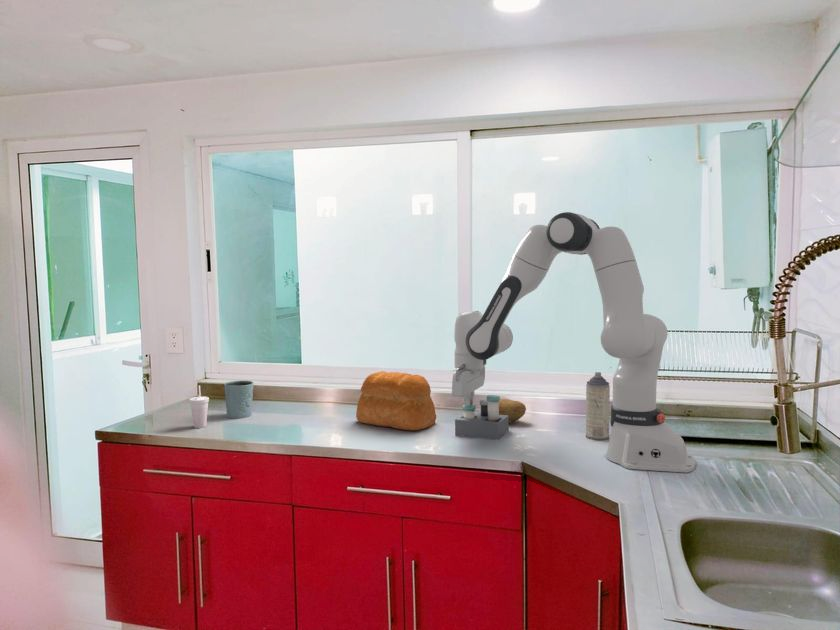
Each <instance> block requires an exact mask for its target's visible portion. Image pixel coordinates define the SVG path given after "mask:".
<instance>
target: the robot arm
mask: <svg viewBox="0 0 840 630" xmlns="http://www.w3.org/2000/svg"><path fill="white" fill-rule="evenodd" d="M561 253H566V254H571V255H578V256H579V255H581V256H582V255H588V256H589V258H590V261H591V264H592V266H593V270H594V274H595V278H596V281H597V285H598V289H599V293H600V295H601V296H600V297H601V300H602V312H603V315H602V317H603V327H602V331H601V335H600V343H601V347H602V348H603V350H604V351H605V353H606V354H608V355H609V356H611V357H613V358H616V359H618V360H619V361H618V363H617V368H616V370H615V373H614V374H613V378H612V404H611V407H610V409H609V424H610V426H611V427H610V434H609V443H608V446H607V449H606V452H605V457H606V459H607V460H609V461H610V462H613V463H615V464H619V465H621V466H622V467H623V468H625V469H628V470H642V471H658V472H672V473H690V472H693V471H694V470H695V468H696V466H697V464H696V459H695V457H693V455H691V454H689V453H687V451H688V450H687V446H686V443H685V441H684V439H683V438H682V436H681V435H680V434H678V433H677V432H676V431H674V430H673V429H672V428H671V427H669V426H668V425H667V424H666V423H665V421H666V416H665V413H664V410H663V409H659V408H657V383H658V381H657V380H658V375H659V370H660V366H661V365H660V364H661V360H662V356H663V349H664V345H665V343H666V341H667V339H668V328H667V325H666V324H665V322H664V321H663V320H662V319H660V318H659V317H657V316H655V315H652V314H649V313H644V307H643V306H644V305H643V297H644V291H645V287H644V284H643V279H642V276H641V273H640V269H639V267H638V262H637V260H636V256H635V254H634V250H633V248H632V246H631V243H630V242H629V240H628V238H627V235H626V234H625V232H624V231H623V230H622V229H621V228H620V227H617V226H606V227H605V226H604V227H601V228H600V226H599V225H598V223H597V222H596V221H595V220H593V219H591V218H588V217H587V216H585V215H583V214H580V213H575V212H571V211H568V212H567V211H564V212H561V213H558V214H555V215H554V216H553V217H552V218H551V219H550V220H549V222H548V224H547V225H545V224H536V225H533V226H531V227H530V228H529V229H528V230H527V232H526V233H525V234H524V236H523V237H522V239H521V241H520V243H519V244H518V246H517V248H516V250H515V252H514V254H513V256H512V258H511V260H510V262H509V265H508V267H507V270H506V272H505V273H504V276H503V278H502V280H501V282H500V284H499V285H498V287H497V289H496V291H495V292H494V294H493V296H492V298H491V300H490V301H489V304H488V306H487V307H486V309H485V311H484V313H482V312H481V311H479V310H471V311H465V312H460V313H459V314H458V315H457V316H456V318H455V322H454V323H455V324H454V335H453V336H454V337H453V338H454V343H455V349H454V368H455V369H456V370H455V371H454V372H453V375H452V378H451V379H452V382H451V394H452V396H453V397H454V398H463V401H464V404H463V405H465V406H468V407H469V406H470V405H472V404H473V405H474V397H475V391H477V390H478V389H480V388H482V387H483V386H484V384H485V378H486V365H487V360H489V359H490V358H492V357H493V356H496V355H499V354H501V353H504V352H505V351H507V350H509V348H510V347H511V346H512V344H513V340H514V336H513V332H512V329H511V328H510V327H509V326H508V325H507V324H506V323H505V322H506V320H507V319H508V316H509V314H510V312H511V311H512V309H513V307H514V306H515V305H516V304H517V302H518V301H520V300H521V299H523V298H524V297H525V296H526V295H529V294H530V293H532V292H533V291H535V290H536V289H537V288H538V287H540V285H541V283H542V282H543V280H544V279H545V278H546V276H547V274H548V273H549V269H550V268H551V265H552V264H553V261H554V260H555V258H556V257H557V255H559V254H561Z"/></svg>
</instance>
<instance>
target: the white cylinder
mask: <svg viewBox="0 0 840 630" xmlns="http://www.w3.org/2000/svg"><path fill="white" fill-rule="evenodd" d="M462 411H463V414H464V418H465V419H474V412H475V411H476V404H474V403H473V404H472V405H470V406H469V407H468V406H465V405H464V404H463V405H462Z"/></svg>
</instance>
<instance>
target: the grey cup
mask: <svg viewBox="0 0 840 630" xmlns="http://www.w3.org/2000/svg"><path fill="white" fill-rule="evenodd" d="M223 386H224V395H225V396H224V397H225V406H226V407H225V408H226V418H228V419H233V420H234V419H235V420H236V419H237V420H238V419H245V418H249V417H251V416H252V414H253V413H252V412H253V398H254V394H253V392H254V381H251V380H233V381H232V380H231V381H227V382H224V384H223Z"/></svg>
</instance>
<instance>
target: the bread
mask: <svg viewBox="0 0 840 630" xmlns="http://www.w3.org/2000/svg"><path fill="white" fill-rule="evenodd" d="M431 390H432V389H431V386H430V384H429V382H428V381H427V379H426V378H425V376H423V375H420V374H411V373H408V372H407V373H406V372H398V371H393V372H392V371H391V372H387V371H385V370H384V371H382V370H381V371H378V372H374V373H371V374H369V375H368V376H367V377H366V378H365V379H364V381H363V382H362V385H361V386H360V393H361V395H360V396H359V399H358V401H357V402H358V403H357V407H356V412H355V415H356V416H355V417H356V420H357V421H358V422H360V423H362V424H368V425H373V426H374V425H375V426H377V427H385V428H388V427H389V428H393V429H396V430H404V431H411V432H413V431H420V430H424V429H427V428H429V427H430V426H433V425H434V424H435V422H436V420H437V414H436V407H435V403H434V401H433V399H432V396H431V392H432V391H431Z"/></svg>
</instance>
